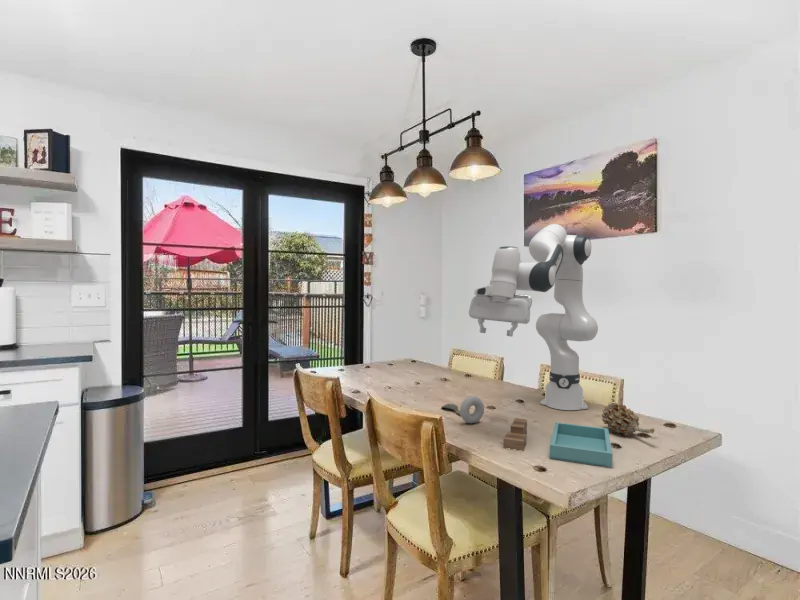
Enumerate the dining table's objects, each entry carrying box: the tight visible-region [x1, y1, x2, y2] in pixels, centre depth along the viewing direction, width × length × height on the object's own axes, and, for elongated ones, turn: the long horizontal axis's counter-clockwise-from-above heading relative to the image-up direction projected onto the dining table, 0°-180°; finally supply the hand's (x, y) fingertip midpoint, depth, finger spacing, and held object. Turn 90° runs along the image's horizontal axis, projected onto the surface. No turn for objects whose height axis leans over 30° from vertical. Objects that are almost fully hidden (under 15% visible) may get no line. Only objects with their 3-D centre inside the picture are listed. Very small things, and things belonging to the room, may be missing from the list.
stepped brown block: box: [503, 417, 528, 452], centre depth 146 cm, size 17×6×5 cm, turn 158°
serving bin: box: [549, 421, 613, 468], centre depth 139 cm, size 24×16×4 cm
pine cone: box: [601, 402, 656, 437], centre depth 152 cm, size 22×10×10 cm, turn 21°
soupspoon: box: [440, 403, 460, 414], centre depth 176 cm, size 22×3×7 cm
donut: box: [459, 395, 485, 424], centre depth 164 cm, size 10×3×10 cm, turn 116°
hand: (495, 334), depth 147 cm, fingers open, 8 cm apart
